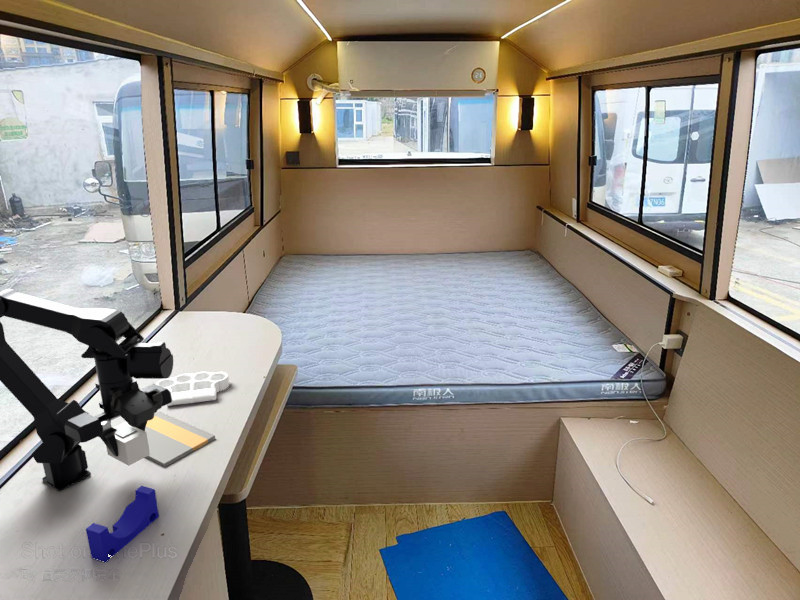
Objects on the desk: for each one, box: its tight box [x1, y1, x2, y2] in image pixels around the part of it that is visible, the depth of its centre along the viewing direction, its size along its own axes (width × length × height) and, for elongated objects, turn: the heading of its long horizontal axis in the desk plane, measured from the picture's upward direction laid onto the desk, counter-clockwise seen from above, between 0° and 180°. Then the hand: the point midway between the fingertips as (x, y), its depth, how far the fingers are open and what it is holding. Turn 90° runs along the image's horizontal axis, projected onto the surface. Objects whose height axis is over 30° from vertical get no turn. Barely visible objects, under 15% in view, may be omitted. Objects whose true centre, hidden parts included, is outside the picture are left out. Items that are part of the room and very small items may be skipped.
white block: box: [105, 421, 150, 466], centre depth 112 cm, size 4×7×5 cm, turn 57°
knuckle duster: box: [155, 371, 230, 407], centre depth 150 cm, size 3×18×15 cm
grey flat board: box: [145, 410, 216, 468], centre depth 129 cm, size 13×20×1 cm, turn 57°
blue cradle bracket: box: [85, 485, 160, 563], centre depth 98 cm, size 12×4×6 cm, turn 160°
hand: (127, 449), depth 113 cm, fingers closed on white block, 4 cm apart
